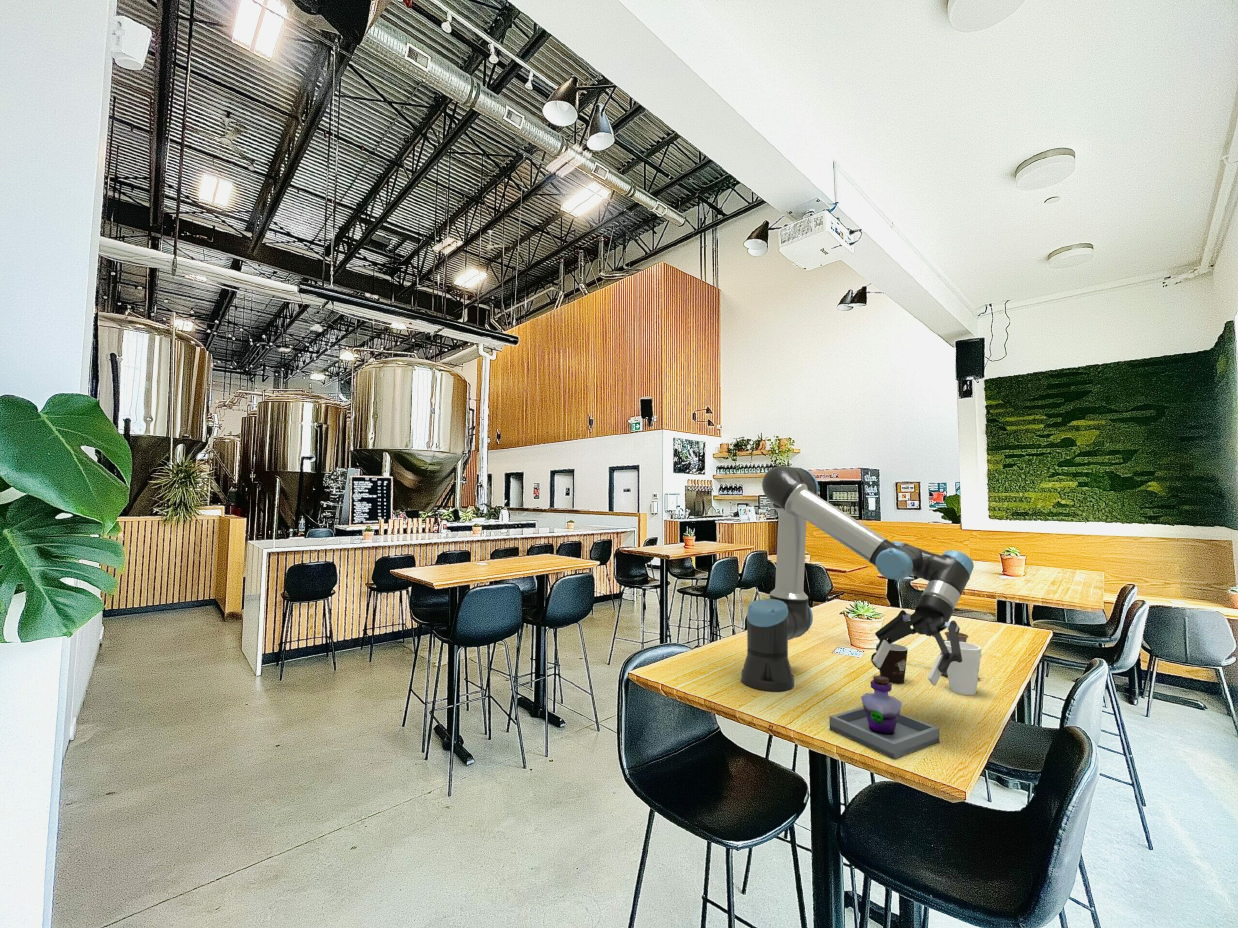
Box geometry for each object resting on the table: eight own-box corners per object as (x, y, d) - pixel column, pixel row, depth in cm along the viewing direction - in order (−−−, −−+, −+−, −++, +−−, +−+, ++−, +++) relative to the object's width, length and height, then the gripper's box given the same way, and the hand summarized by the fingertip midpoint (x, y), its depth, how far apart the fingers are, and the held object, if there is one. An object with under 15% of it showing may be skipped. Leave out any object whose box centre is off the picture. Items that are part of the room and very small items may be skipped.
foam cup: (985, 691, 150) (984, 645, 151) (979, 699, 143) (978, 651, 144) (947, 682, 157) (946, 639, 157) (940, 690, 150) (939, 644, 151)
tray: (829, 729, 123) (829, 715, 123) (874, 715, 131) (874, 703, 132) (894, 758, 109) (893, 744, 109) (939, 741, 117) (939, 727, 118)
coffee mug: (900, 676, 162) (900, 643, 163) (913, 685, 154) (913, 651, 154) (862, 674, 163) (861, 641, 164) (872, 683, 155) (872, 649, 155)
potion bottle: (862, 733, 118) (861, 680, 119) (860, 719, 126) (859, 668, 127) (905, 741, 115) (904, 685, 116) (900, 725, 123) (899, 674, 124)
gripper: (998, 623, 122) (964, 700, 114) (896, 603, 144) (862, 666, 135) (985, 602, 120) (950, 679, 111) (884, 585, 141) (849, 648, 133)
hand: (902, 672), depth 123 cm, fingers open, 13 cm apart
